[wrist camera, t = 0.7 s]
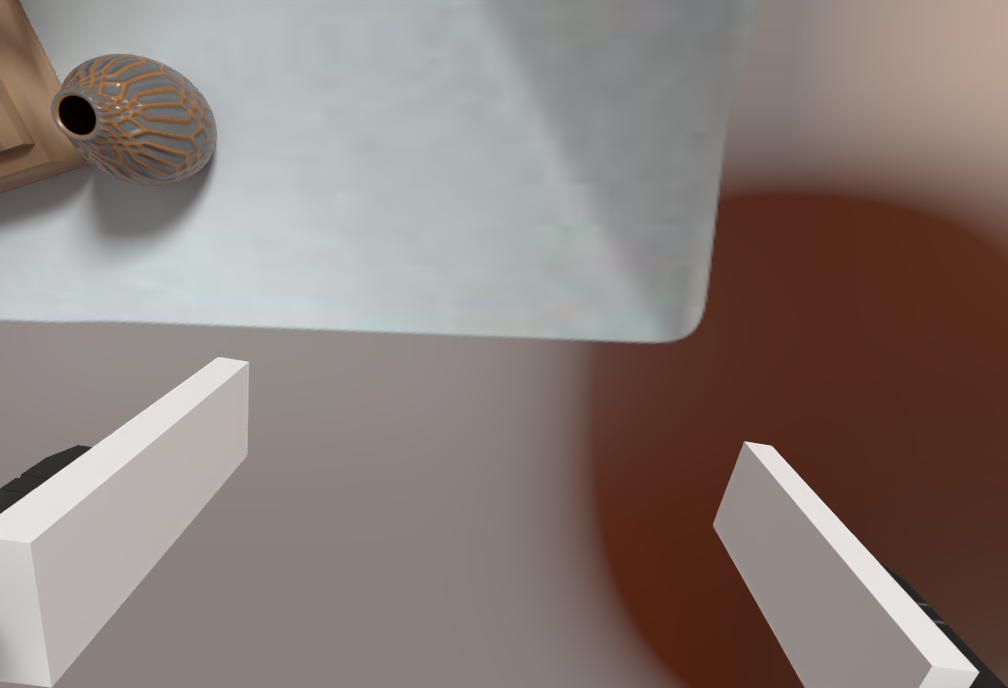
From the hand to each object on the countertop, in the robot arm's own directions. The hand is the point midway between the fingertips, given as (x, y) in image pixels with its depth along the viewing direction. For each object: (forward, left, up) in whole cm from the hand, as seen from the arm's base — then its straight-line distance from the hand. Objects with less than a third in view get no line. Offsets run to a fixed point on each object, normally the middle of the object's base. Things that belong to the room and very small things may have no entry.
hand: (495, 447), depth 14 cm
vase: (-14, -17, -25) cm, 33 cm away
